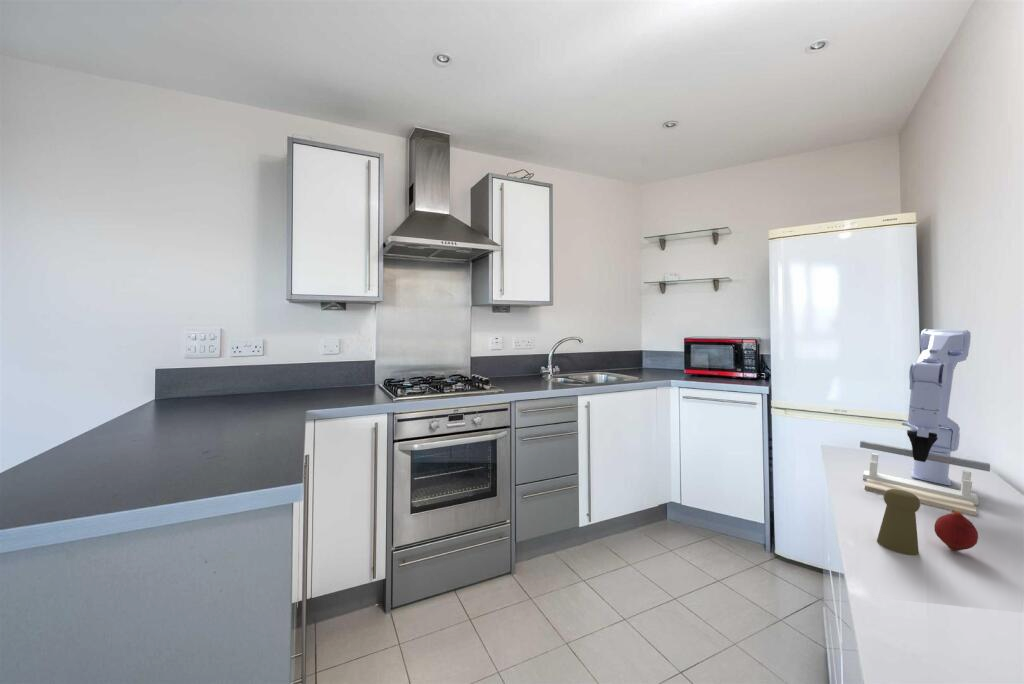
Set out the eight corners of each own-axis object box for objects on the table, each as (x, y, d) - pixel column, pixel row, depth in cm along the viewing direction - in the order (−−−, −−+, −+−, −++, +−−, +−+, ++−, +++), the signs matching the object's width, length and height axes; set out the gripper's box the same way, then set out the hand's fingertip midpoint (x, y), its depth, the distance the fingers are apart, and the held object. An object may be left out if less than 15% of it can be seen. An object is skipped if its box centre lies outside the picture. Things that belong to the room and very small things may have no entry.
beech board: (866, 482, 117) (867, 478, 117) (972, 506, 103) (972, 502, 103) (864, 489, 111) (864, 485, 111) (976, 516, 97) (976, 511, 97)
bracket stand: (864, 475, 122) (866, 451, 122) (975, 499, 107) (978, 473, 107) (862, 479, 119) (864, 455, 118) (977, 505, 104) (980, 477, 103)
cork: (901, 540, 84) (906, 486, 83) (928, 556, 78) (933, 499, 77) (868, 537, 85) (873, 484, 84) (893, 553, 79) (898, 496, 78)
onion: (966, 547, 82) (969, 507, 82) (983, 562, 77) (987, 519, 77) (927, 539, 85) (930, 501, 84) (941, 553, 79) (945, 512, 79)
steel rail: (860, 446, 118) (860, 440, 118) (988, 469, 101) (989, 463, 101) (859, 447, 116) (860, 441, 116) (989, 471, 100) (990, 465, 100)
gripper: (903, 403, 116) (899, 451, 117) (902, 408, 106) (897, 461, 106) (939, 407, 111) (934, 457, 112) (942, 414, 101) (937, 469, 101)
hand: (919, 459), depth 109 cm, fingers closed on steel rail, 2 cm apart
